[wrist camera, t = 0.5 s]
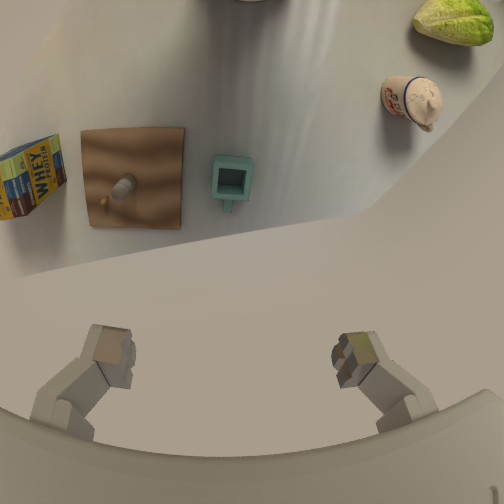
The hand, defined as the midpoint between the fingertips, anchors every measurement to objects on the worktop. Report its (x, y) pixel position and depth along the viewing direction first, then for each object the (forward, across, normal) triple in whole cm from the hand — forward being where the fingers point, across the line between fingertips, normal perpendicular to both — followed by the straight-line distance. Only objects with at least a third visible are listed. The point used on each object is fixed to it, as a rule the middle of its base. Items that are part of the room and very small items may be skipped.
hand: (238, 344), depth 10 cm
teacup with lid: (+42, -33, -14) cm, 55 cm away
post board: (+42, +17, +9) cm, 47 cm away
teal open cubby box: (+43, -2, +9) cm, 44 cm away
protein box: (+43, +40, +5) cm, 59 cm away
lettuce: (+42, -39, -38) cm, 69 cm away
